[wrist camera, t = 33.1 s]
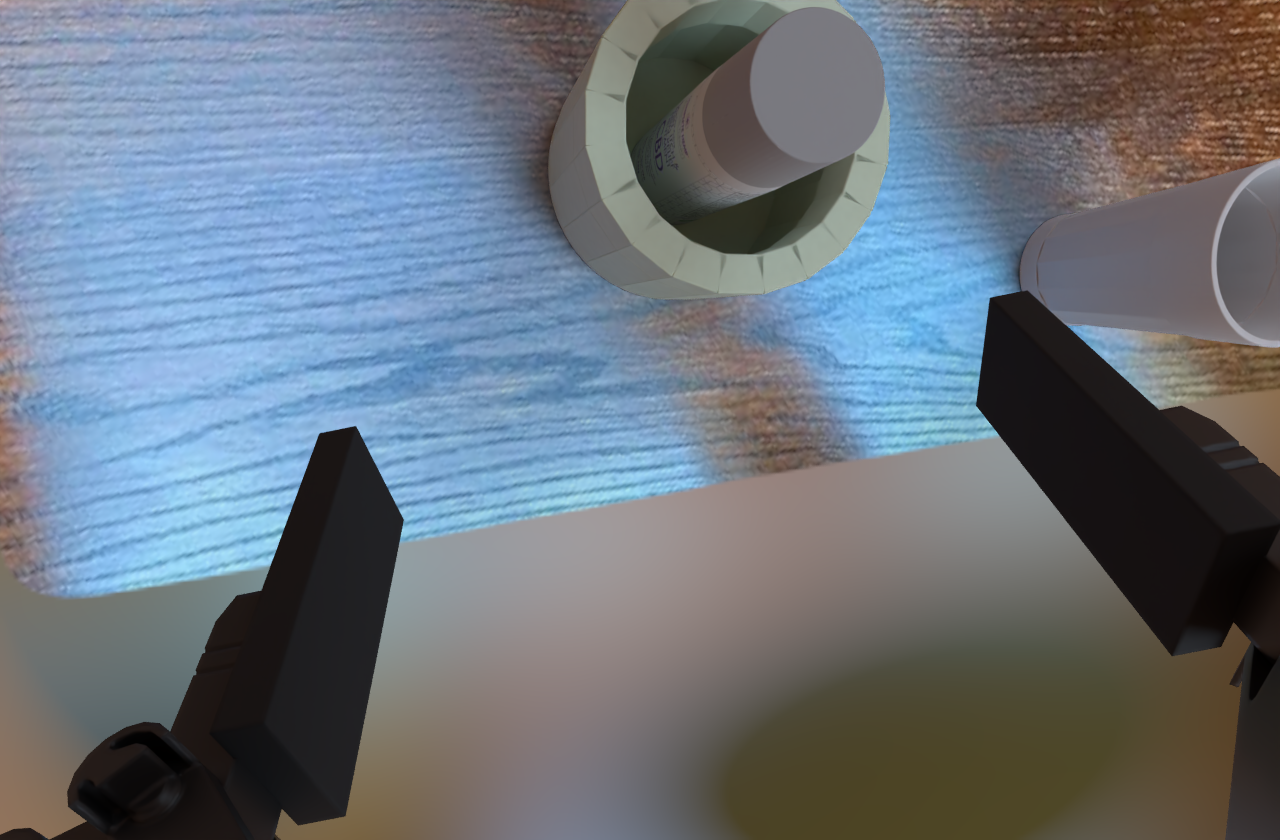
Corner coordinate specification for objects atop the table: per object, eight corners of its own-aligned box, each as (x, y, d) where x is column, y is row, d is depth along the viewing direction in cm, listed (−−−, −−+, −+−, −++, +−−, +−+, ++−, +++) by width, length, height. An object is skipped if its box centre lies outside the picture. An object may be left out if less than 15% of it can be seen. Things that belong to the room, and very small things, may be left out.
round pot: (548, 298, 37) (585, 291, 28) (546, 37, 36) (584, -67, 26) (777, 301, 40) (881, 296, 30) (784, 60, 38) (897, -26, 29)
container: (611, 145, 36) (722, 31, 22) (698, 111, 37) (861, -20, 23) (648, 240, 37) (777, 191, 23) (732, 204, 38) (908, 136, 24)
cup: (987, 239, 43) (1188, 210, 31) (1096, 175, 44) (1328, 124, 32) (1036, 364, 44) (1242, 380, 33) (1139, 299, 46) (1373, 293, 34)
